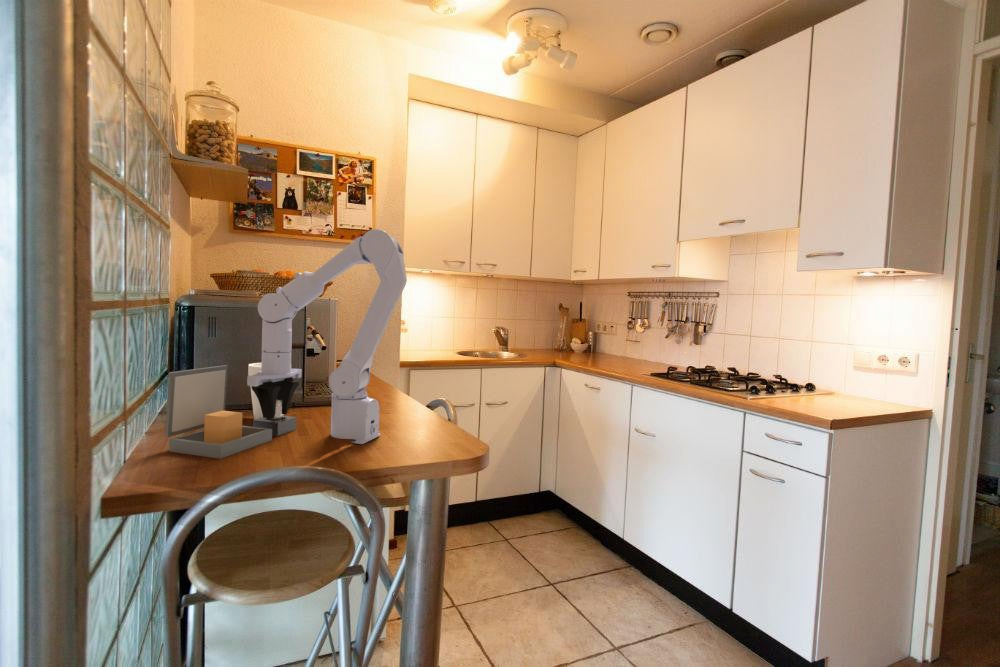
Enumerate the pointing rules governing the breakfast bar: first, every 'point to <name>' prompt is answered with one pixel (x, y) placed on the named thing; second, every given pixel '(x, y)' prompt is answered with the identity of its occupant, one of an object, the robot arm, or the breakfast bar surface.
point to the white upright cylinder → (277, 411)
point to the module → (222, 427)
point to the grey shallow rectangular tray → (197, 446)
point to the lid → (194, 398)
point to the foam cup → (255, 402)
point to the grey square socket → (277, 425)
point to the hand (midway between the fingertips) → (275, 415)
